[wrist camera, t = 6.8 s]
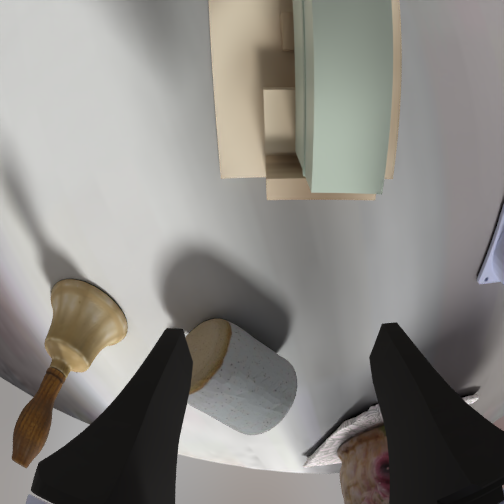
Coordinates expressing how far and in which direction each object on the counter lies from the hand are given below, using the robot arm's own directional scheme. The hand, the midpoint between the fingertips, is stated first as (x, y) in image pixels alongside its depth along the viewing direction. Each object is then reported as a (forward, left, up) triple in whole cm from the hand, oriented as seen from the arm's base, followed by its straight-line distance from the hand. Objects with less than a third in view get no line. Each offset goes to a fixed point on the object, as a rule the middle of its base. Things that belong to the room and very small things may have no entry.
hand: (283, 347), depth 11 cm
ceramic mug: (+4, +13, -10) cm, 17 cm away
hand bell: (+17, +9, -10) cm, 22 cm away
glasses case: (-2, -11, -7) cm, 13 cm away
